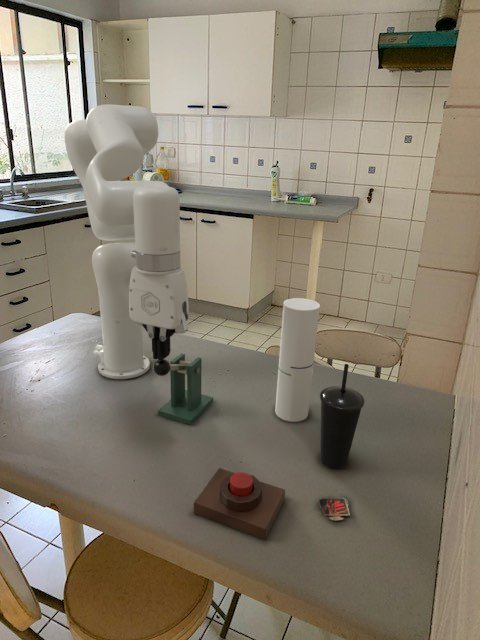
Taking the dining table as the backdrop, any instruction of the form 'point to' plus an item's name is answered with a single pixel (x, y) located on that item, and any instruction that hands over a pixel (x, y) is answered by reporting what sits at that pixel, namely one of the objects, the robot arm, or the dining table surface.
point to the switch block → (240, 505)
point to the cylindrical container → (296, 358)
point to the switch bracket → (186, 394)
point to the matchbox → (334, 507)
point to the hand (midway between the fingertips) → (161, 356)
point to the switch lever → (169, 367)
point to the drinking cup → (338, 422)
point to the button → (241, 484)
